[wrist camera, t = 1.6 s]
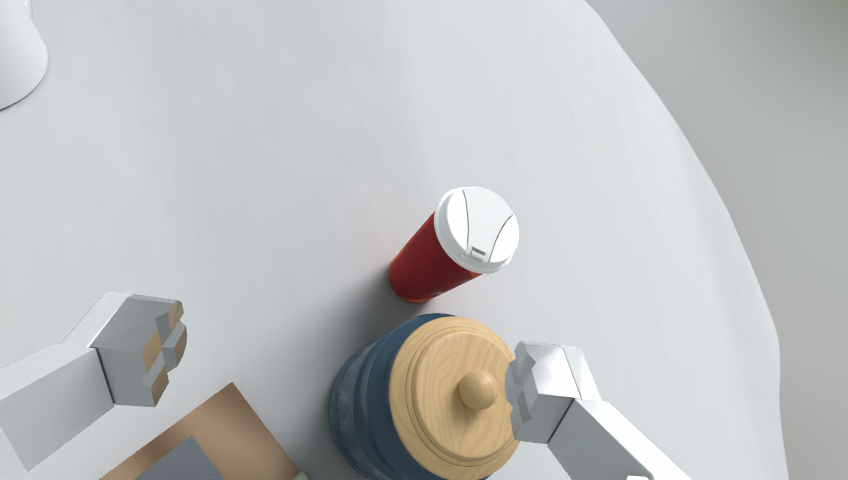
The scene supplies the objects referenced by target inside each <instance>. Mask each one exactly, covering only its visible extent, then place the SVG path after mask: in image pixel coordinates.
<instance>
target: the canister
mask: <svg viewBox="0 0 848 480" xmlns="http://www.w3.org/2000/svg"><path fill="white" fill-rule="evenodd" d="M513 360H515V357H514V355H513V354H512V352H511V351H510V349H509V348H508V346H507V345H506V344H505V343H504V341H503V340H502V339H501V338H500V337H499V336H498V335H497V334H496V333H494V332H493V331H492V330H491V329H489V328H488V327H486V326H484V325H483V324H481V323H479V322H477V321H474V320H471V319H468V318H464V317H457V316H454V315H449V314H441V313H432V314H425V315H421V316H417V317H415V318H412V319H410V320H408V321H406V322H404V323H403V324H401V325H400V326H399V327H397V328H395V329H394V330H392V331H390V332H388V333H387V334H385V335H384V336H382V337H381V338H380V339H379V340H376V341H373V342H371V343H369V344H367V345H366V346H364V347H363V348H361V349H360V350H358V351H357V352H356V353H355V354H353V355H352V356H351V357H350V358H349V359H348V361H347V362H346V363H345V364H344V366H343V367H342V369H341V371H340V372H339V374H338V376H337V378H336V381H335V383H334V386H333V389H332V392H331V397H330V403H329V421H330V427H331V432H332V435H333V438H334V441H335V443H336V445H337V447H338V449H339V451H340V452H341V454H342V455H343V457H344V458H345V459H346V461H347V462H348V463H349V464H350V465H351V466H352V467H353V468H354V469H355V470H356V471H358V472H359V473H360V474H362V475H363V476H365V477H367V478H369V479H371V480H486V479H487V478H488V477H489V476H491V475H492V474H493V473H494V472H496V471H497V470H498V469H500V468H501V467H502V466H503V465H504V464H505V463H506V462H507V461H508V460H509V459H510V457H511V456H512V455H513V453H514V452H515V450H516V448H517V446H518V444H519V442H520V441H517V440H514V436H513V431H512V426H511V421H510V413H511V411H512V409H513V407H512V406H511V404H510V403H509V402H508V401H507V400H506V395H505V385H504V382H505V374H506V370H507V368H508V365H509V363H510V362H511V361H513Z"/></svg>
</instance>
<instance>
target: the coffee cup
mask: <svg viewBox="0 0 848 480" xmlns="http://www.w3.org/2000/svg"><path fill="white" fill-rule="evenodd" d="M518 240H519V228H518V224H517V220H516V218H515V215H514V214H513V212H512V211H511V209H510V208H509V206H508V205H507V204H506V203H505V201H504V200H503V199H502V198H501V197H499V196H498V195H497V194H495V193H493V192H492V191H490V190H487V189H485V188H482V187H476V186H473V187H464V188H456V189H453V190H451V191H449V192H447V193H446V194H445V195H444V196H443V197H442V198H441V199H440V200H439V202H438V204H437V206H436V209H435V211H434V213H433V214H432V215H431V216H430V217H429V218H428V220H427V221H426V222H425V223H424V224H423V225H422V227H421V228H420V229H419V230H418V231H417V232H416V233H415V235H414V236H413V237H412V238H411V239H410V241H409V242H408V243H407V244H406V245H405V246H404V248H403V249H402V250H401V251H400V252H399V254H398V255H397V256H396V257H395V259H394V260H393V262H392V264H391V266H390V269H389V280H390V284H391V286H392V288H393V290H394V291H395V292H396V294H397V295H398V296H399V297H401V298H402V299H404V300H406V301H408V302H412V303H420V302H424V301H427V300H429V299H432V298H434V297H436V296H438V295H440V294H442V293H445V292H447V291H449V290H451V289H453V288H455V287H457V286H459V285H461V284H463V283H465V282H467V281H470V280H472V279H474V278H476V277H478V276H480V275H482V274H489V273H494V272H496V271H499V270H501V269H502V268H504V267H505V266H506V265H507V264H508V263H509V261H510V260H511V258H512V256H513V253H514V251H515V250H516V247H517V244H518Z"/></svg>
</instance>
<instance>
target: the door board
mask: <svg viewBox="0 0 848 480" xmlns="http://www.w3.org/2000/svg"><path fill="white" fill-rule="evenodd" d="M191 435H192V436H193V437H194V439H195V440H196V441H197V443H198V444H199V446H200V447H201V448H202V450H203V451H204V452H205V454H206V455H207V456H208V458H209V459H210V461H211V462H212V463H213V465H214V466H215V467H216V469H217V470H218V471H219V473H220V474H221V476H222V477H223V478H224V480H309V479H308V477H307V476H306V475H305V473H303V472H299V471H298V470H297V468H296V467H295V466H294V464H293V463H292V462H291V460H290V459H289V458H288V456H287V455H286V453H285V452H284V451H283V449H282V448H281V447H280V445H279V444H278V443H277V441H276V440H275V439H274V437H273V436H272V435H271V433H270V432H269V431H268V429H267V428H266V427H265V425H264V424H263V423H262V421H261V420H260V419H259V417H258V416H257V415H256V413H255V412H254V410H253V409H252V408H251V406H250V405H249V404H248V402H247V401H246V400H245V398H244V397H243V396H242V394H241V393H240V392H239V390H238V389H237V388H236V386H235V385H234V384H233V382H231V383H230V384H229V385H227V386H226V387H225V388H223V389H222V390H220V391H219V392H218V393H216V394H215V395H214V396H212V397H211V398H210V399H208V400H207V401H205V402H204V403H203V404H201V405H200V406H199V407H197V408H196V409H195V410H193V411H192V412H190V413H189V414H188V415H186V416H185V417H184V418H182V419H181V420H180V421H178V422H177V423H175V424H174V425H173V426H171V427H170V428H169V429H167V430H166V431H165V432H163V433H162V434H160V435H159V436H158V437H156V438H155V439H154V440H152V441H151V442H150V443H148V444H147V445H145V446H144V447H143V448H141V449H140V450H139V451H137V452H136V453H135V454H133V455H132V456H130V457H129V458H128V459H126V460H125V461H124V462H122V463H121V464H120V465H118V466H117V467H116V468H114V469H113V470H111V471H110V472H109V473H107V474H106V475H105V476H103V477H102V478H101V479H99V480H134V479H135V478H136V477H138V476H139V475H140V474H142V473H143V472H144V471H146V470H147V469H148V468H149V467H151V466H152V465H153V464H155V463H156V462H157V461H159V460H160V459H161V458H163V457H164V456H165V455H166V454H168V453H169V452H170V451H172V450H173V449H174V448H176V447H177V446H178V445H180V444H181V443H182V442H183V441H185V440H186V439H187V438H189V437H190V436H191Z"/></svg>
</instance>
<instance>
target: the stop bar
mask: <svg viewBox="0 0 848 480" xmlns="http://www.w3.org/2000/svg"><path fill="white" fill-rule="evenodd" d="M134 480H224V478H223V477H222V476H221V474H220V473H219V471H218V470H217V469H216V467H215V466H214V465H213V463H212V462H211V461H210V459H209V458H208V456H207V455H206V454H205V452H204V451H203V450H202V448H201V447H200V446H199V444H198V443H197V441H196V440H195V439H194V437H193V436H192V435H191V436H190V437H189V438H187V439H186V440H185V441H183V442H182V443H181V444H180V445H178V446H177V447H176V448H174V449H173V450H172V451H170V452H169V453H168V454H166V455H165V456H164V457H163V458H161V459H160V460H159V461H157V462H156V463H155V464H153V465H152V466H151V467H149V468H148V469H147V470H146V471H144V472H143V473H142V474H140V475H139V476H138V477H136V478H135V479H134Z"/></svg>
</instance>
